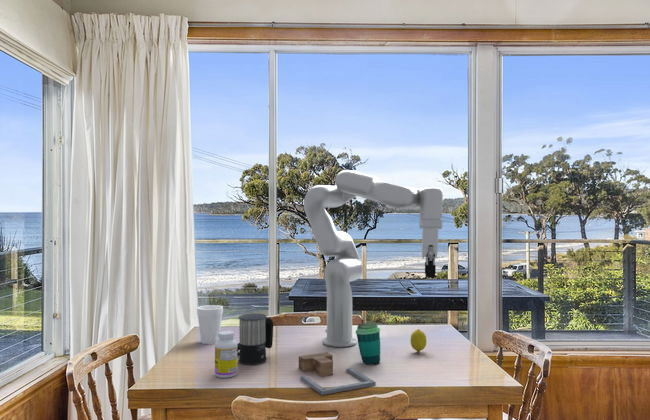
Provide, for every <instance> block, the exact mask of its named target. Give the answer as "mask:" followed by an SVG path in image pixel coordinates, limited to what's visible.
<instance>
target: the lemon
mask: <svg viewBox="0 0 650 420" xmlns="http://www.w3.org/2000/svg"><path fill="white" fill-rule="evenodd" d="M409 341H410V345H411V347H412V349H413V350H415V351H416V352H417V353H420V352H421V351H423V350H424V349H425V348H426V346H427V335H426V334H425V332H424V331H422V330H420V328H419V329H418V328H417V329H416V330H414V331H413V332H412V333H411V335H410V339H409Z"/></svg>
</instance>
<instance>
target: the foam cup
mask: <svg viewBox="0 0 650 420" xmlns="http://www.w3.org/2000/svg"><path fill="white" fill-rule="evenodd" d="M196 308H197V309H196V311H197V312H196V314H197V318H198V325H199V334H200V335H199V336H200V342H201V344H202V345H215V343H216V342H217V341H218V340H219V337H218V333H219V332H221V328H222V317H223V313H224V306H223V305H218V304H207V305H206V304H205V305H201V306H198V307H196Z"/></svg>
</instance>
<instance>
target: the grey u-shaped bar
mask: <svg viewBox="0 0 650 420" xmlns="http://www.w3.org/2000/svg"><path fill="white" fill-rule="evenodd" d="M345 368H346V373H348V374H350V375H352V376H353V377H354V378H356V379H359V380H360V381H361V382H360V381H359V382H355V383H349V384H343V385H337V386H333V387H332V386H331V387H327V388H324V387H323V386H321V385H320V384H319V383H317V382H316V381H314V380H313V379H311V378H310V377H309V376H307V375H306V374H302V375H300V377H299V378H300V381H302V382H304V383H305V384H306V385H308V386H309V387H310V388H312V389H313V390H314V391H316V392H317V393H318V394H320V395H321V396H324V395H329V394H335V393H341V392H346V391H347V392H348V391H351V390H357V389H358V390H359V389H362V388H367V387H368V388H369V387H373V386H376V383H377V382H376V381H375V380H374V379H372V378H370V377H368V376H366V375H364V374H362V373H361V372H360V371H358V370H356V369H354V368H352V367H345Z"/></svg>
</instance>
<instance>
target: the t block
mask: <svg viewBox="0 0 650 420" xmlns="http://www.w3.org/2000/svg"><path fill="white" fill-rule="evenodd" d="M297 358H298V370H299V371H301V372H303V373H309V372H314V374H317V375H318V376H319V377H327V376H333V375H334V360H333V358H334V355H333V354H331V353H330V352H327V351H324V352H317V353H311V354H310V353H309V354H304V355H298V356H297Z"/></svg>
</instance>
